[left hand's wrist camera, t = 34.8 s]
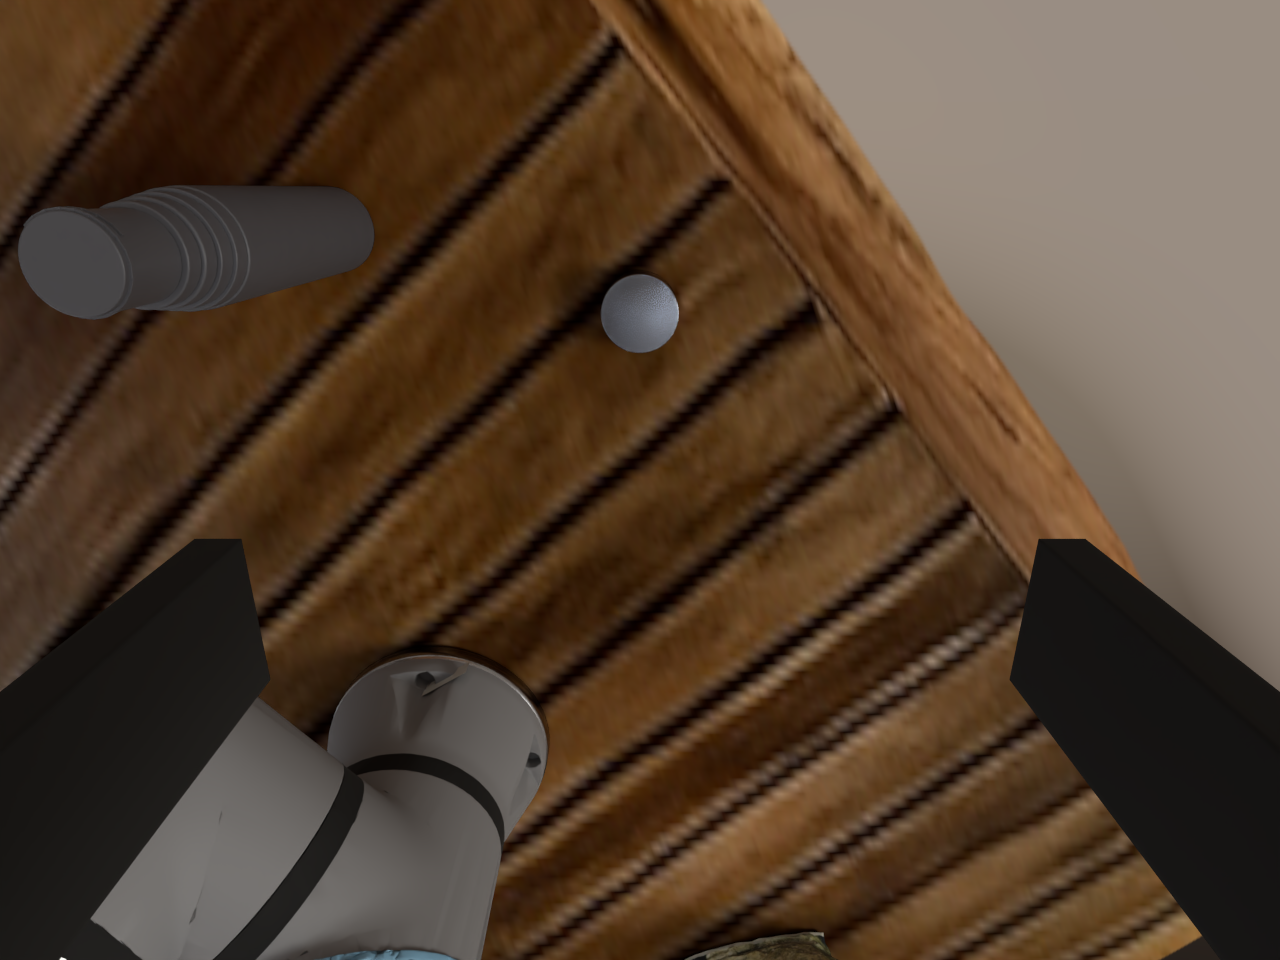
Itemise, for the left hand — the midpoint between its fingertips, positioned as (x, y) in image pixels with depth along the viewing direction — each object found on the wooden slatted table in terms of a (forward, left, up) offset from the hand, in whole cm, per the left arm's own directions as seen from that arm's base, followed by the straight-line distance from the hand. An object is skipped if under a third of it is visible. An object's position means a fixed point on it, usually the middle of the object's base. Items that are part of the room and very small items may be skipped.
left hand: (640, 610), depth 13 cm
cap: (0, 0, -32) cm, 32 cm away
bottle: (-9, +15, -34) cm, 38 cm away
